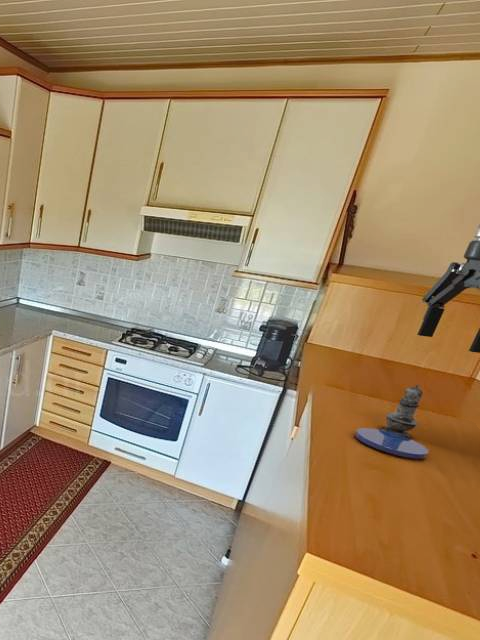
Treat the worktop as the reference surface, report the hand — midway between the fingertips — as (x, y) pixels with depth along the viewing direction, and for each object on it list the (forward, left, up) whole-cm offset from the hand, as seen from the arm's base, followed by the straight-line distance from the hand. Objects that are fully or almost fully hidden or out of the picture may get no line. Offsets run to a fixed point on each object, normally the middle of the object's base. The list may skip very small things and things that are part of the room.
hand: (449, 343), depth 104 cm
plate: (-8, +12, -22) cm, 26 cm away
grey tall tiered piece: (0, +2, -22) cm, 22 cm away
